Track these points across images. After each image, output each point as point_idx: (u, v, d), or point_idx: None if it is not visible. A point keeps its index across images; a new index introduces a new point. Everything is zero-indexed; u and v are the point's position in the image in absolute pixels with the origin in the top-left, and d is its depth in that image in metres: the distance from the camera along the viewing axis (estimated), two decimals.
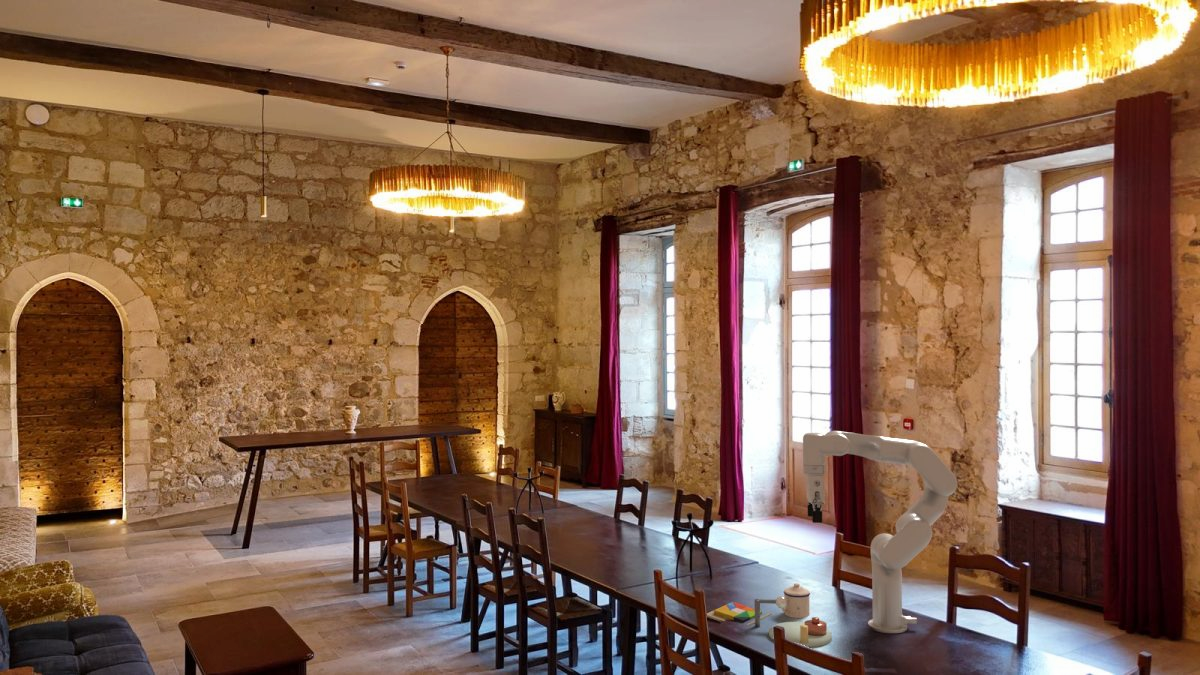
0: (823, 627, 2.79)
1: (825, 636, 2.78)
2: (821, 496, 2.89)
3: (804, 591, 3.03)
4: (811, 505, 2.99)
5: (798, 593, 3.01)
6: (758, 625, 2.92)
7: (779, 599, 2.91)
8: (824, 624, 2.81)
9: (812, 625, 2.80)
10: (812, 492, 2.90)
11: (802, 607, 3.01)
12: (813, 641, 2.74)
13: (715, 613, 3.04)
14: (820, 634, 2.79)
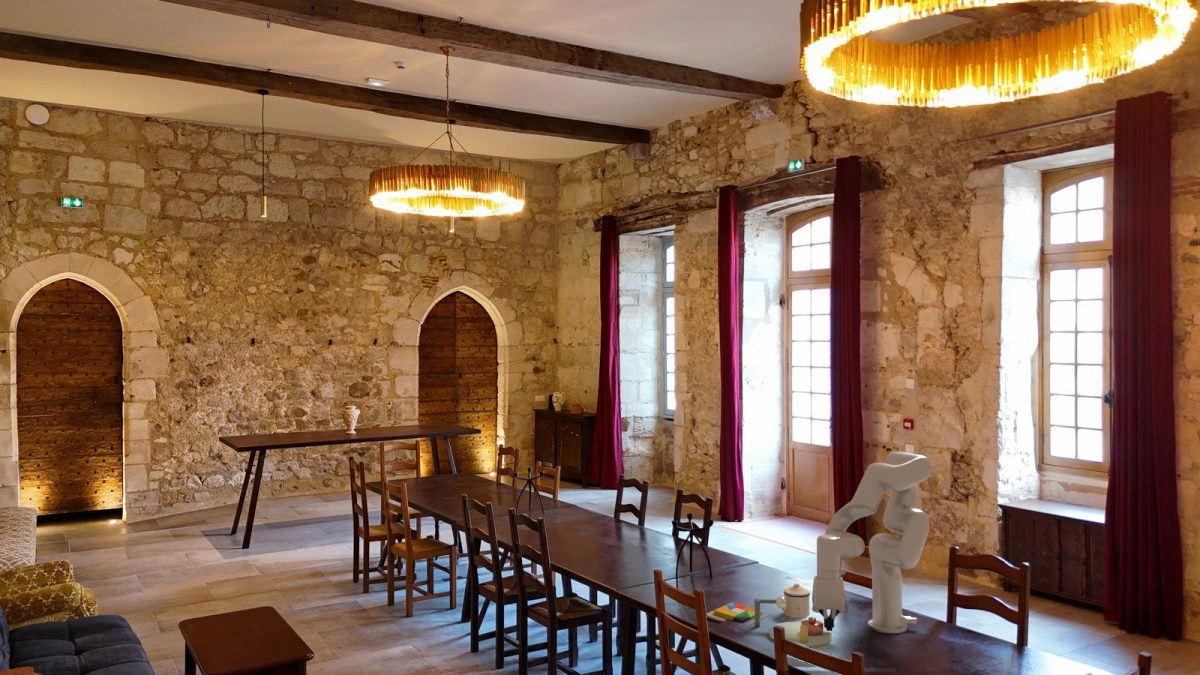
0: (820, 627, 2.79)
1: (825, 636, 2.78)
2: None
3: (804, 591, 3.03)
4: (829, 615, 2.81)
5: (798, 593, 3.01)
6: (758, 625, 2.92)
7: (779, 599, 2.91)
8: (821, 624, 2.81)
9: (809, 625, 2.80)
10: None
11: (802, 607, 3.01)
12: (813, 641, 2.74)
13: (715, 613, 3.04)
14: (817, 634, 2.79)
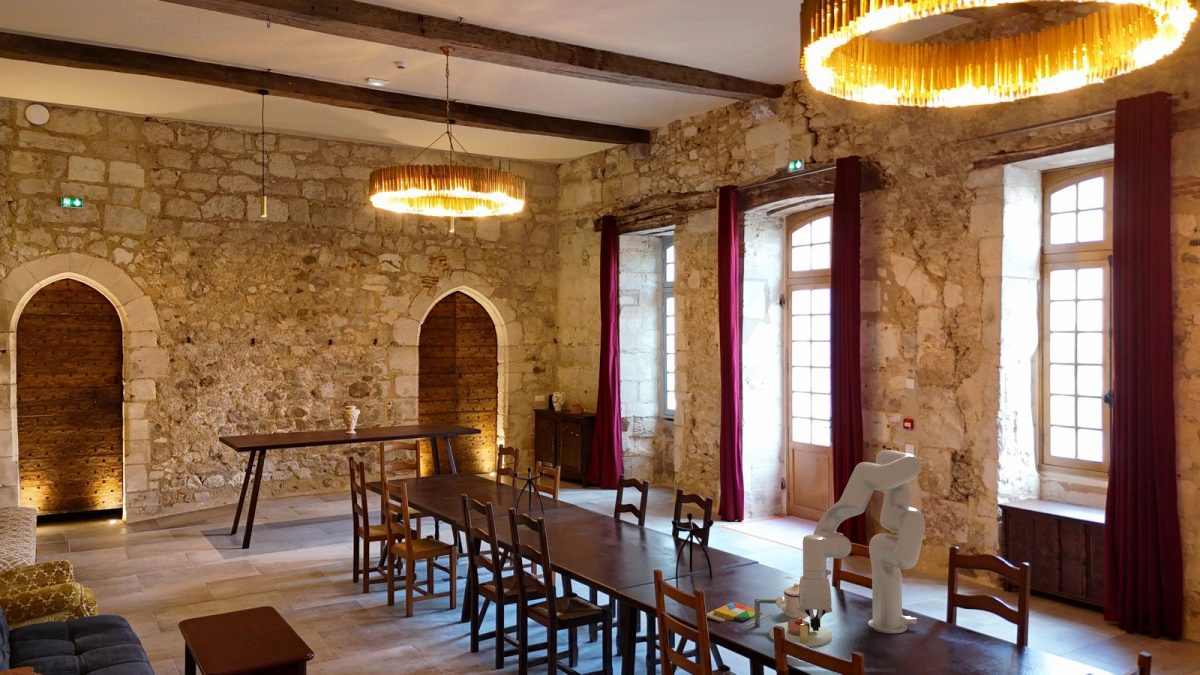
0: None
1: (825, 636, 2.78)
2: None
3: None
4: None
5: (798, 593, 3.01)
6: (758, 625, 2.92)
7: (779, 599, 2.91)
8: (807, 624, 2.81)
9: (796, 625, 2.80)
10: None
11: None
12: (813, 641, 2.74)
13: (715, 613, 3.04)
14: None
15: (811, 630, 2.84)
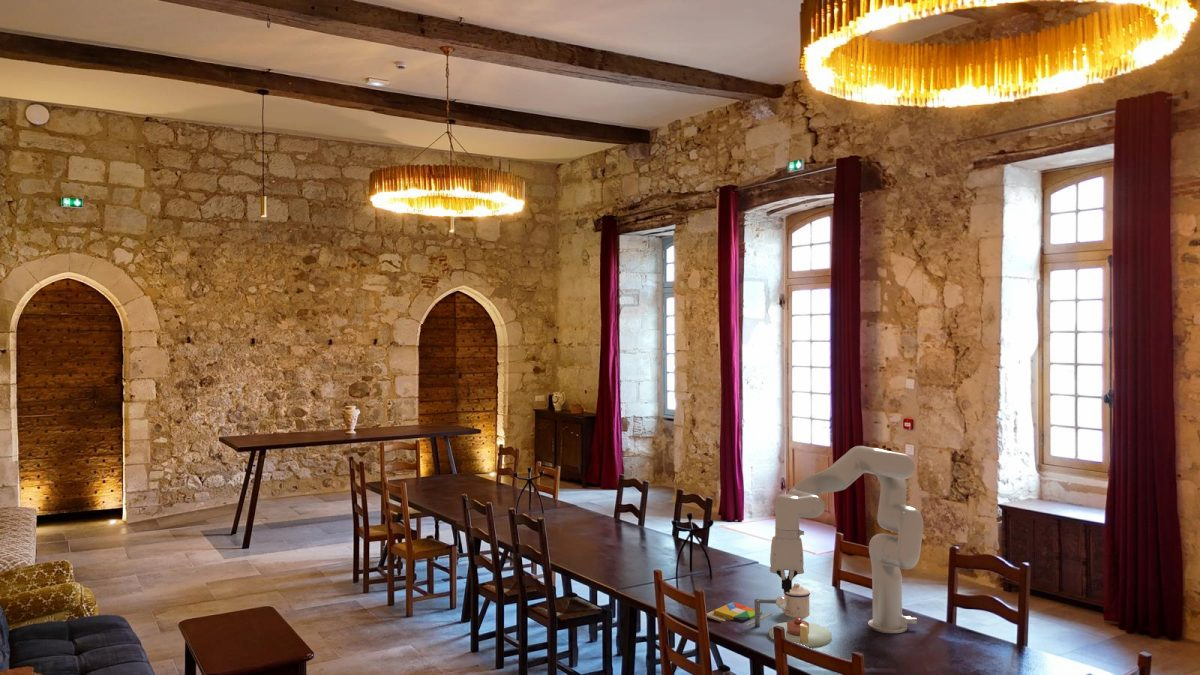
0: None
1: (825, 636, 2.78)
2: None
3: (804, 591, 3.03)
4: None
5: (798, 593, 3.01)
6: (758, 625, 2.92)
7: (779, 599, 2.91)
8: (806, 624, 2.81)
9: (795, 625, 2.80)
10: None
11: (802, 607, 3.01)
12: (813, 641, 2.74)
13: (715, 613, 3.04)
14: None
15: (811, 630, 2.84)
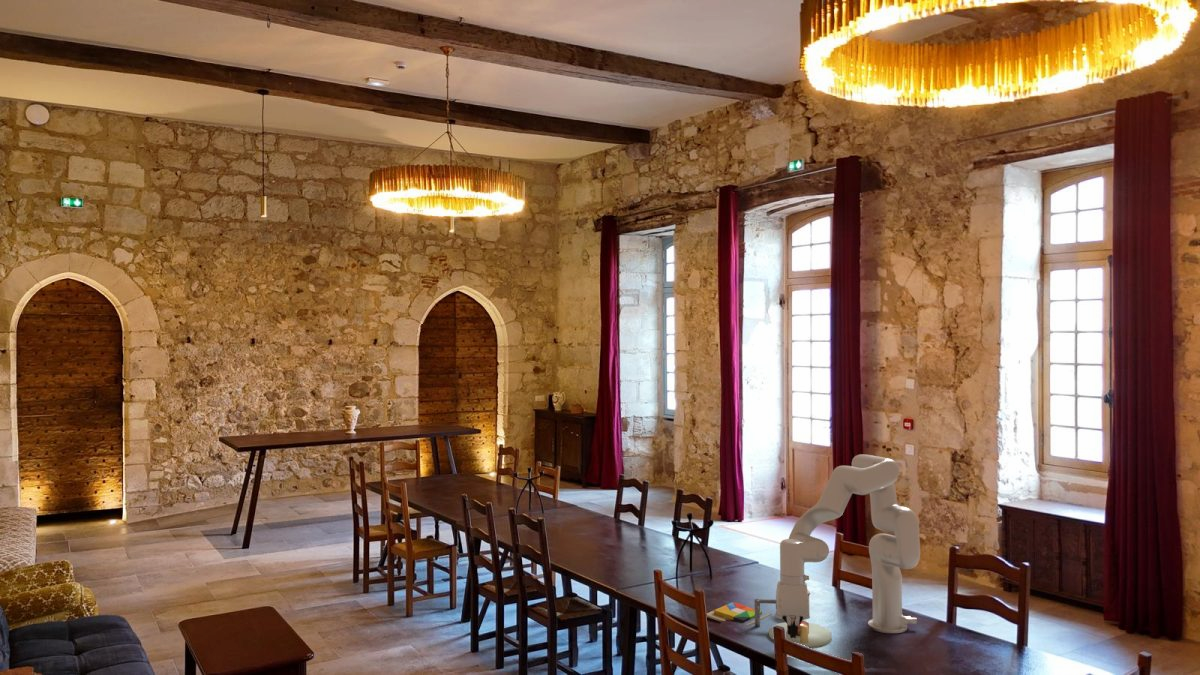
0: None
1: (825, 636, 2.78)
2: None
3: None
4: None
5: None
6: (758, 625, 2.92)
7: None
8: (806, 624, 2.81)
9: None
10: (808, 602, 2.72)
11: None
12: (813, 641, 2.74)
13: (715, 613, 3.04)
14: None
15: (811, 630, 2.84)
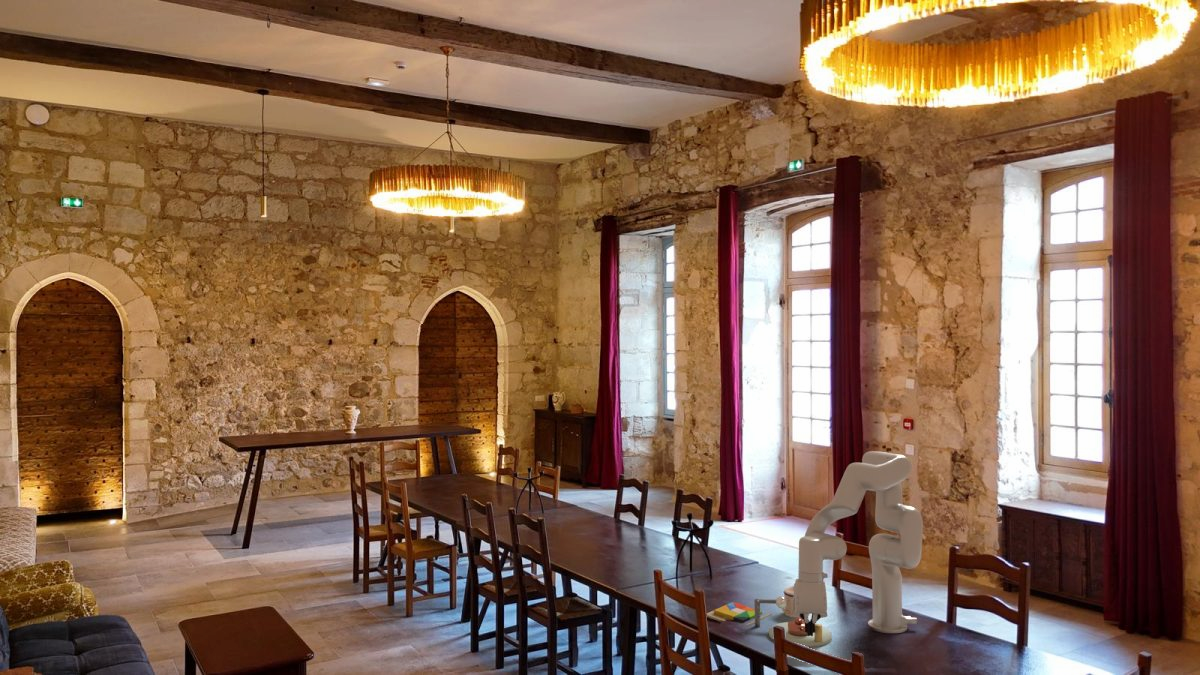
0: None
1: (826, 632, 2.82)
2: None
3: None
4: None
5: None
6: (758, 625, 2.92)
7: (779, 599, 2.91)
8: None
9: (800, 626, 2.79)
10: (826, 600, 2.71)
11: None
12: (824, 638, 2.76)
13: (715, 613, 3.04)
14: None
15: None
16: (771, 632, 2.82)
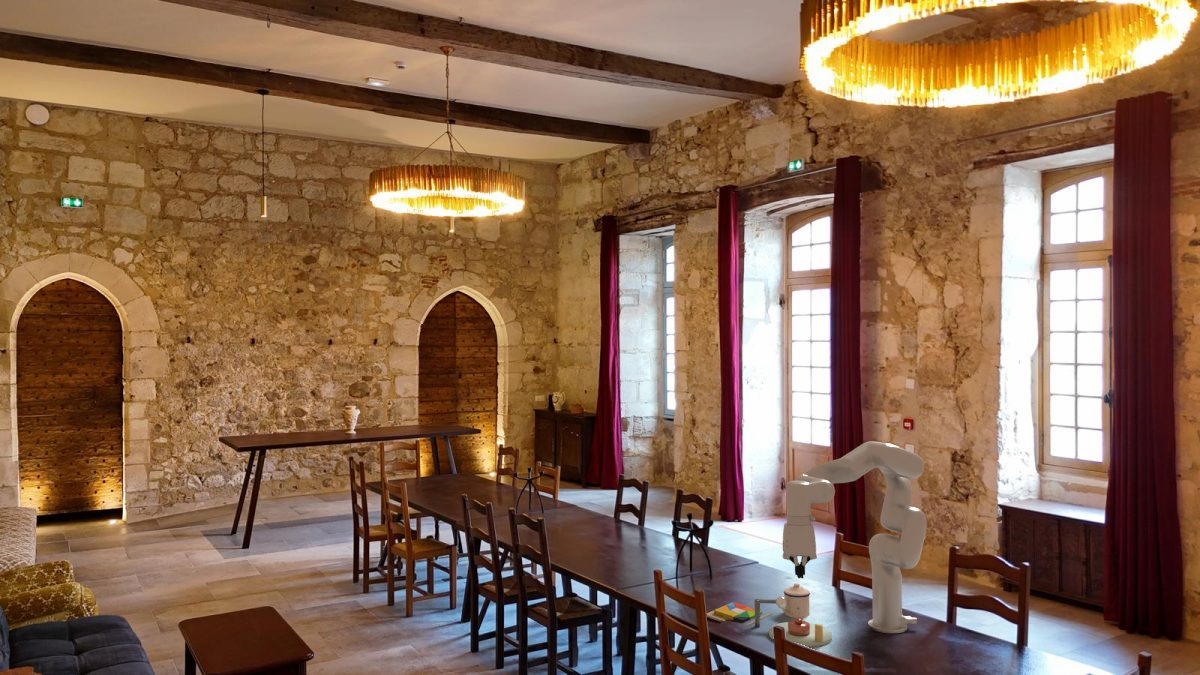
0: (809, 625, 2.81)
1: (825, 631, 2.83)
2: None
3: (804, 591, 3.03)
4: (800, 562, 2.75)
5: (798, 593, 3.01)
6: (758, 625, 2.92)
7: (779, 599, 2.91)
8: (806, 622, 2.83)
9: (800, 626, 2.79)
10: (815, 542, 2.73)
11: (802, 607, 3.01)
12: (824, 638, 2.76)
13: (715, 613, 3.04)
14: (808, 633, 2.80)
15: None
16: (771, 632, 2.82)
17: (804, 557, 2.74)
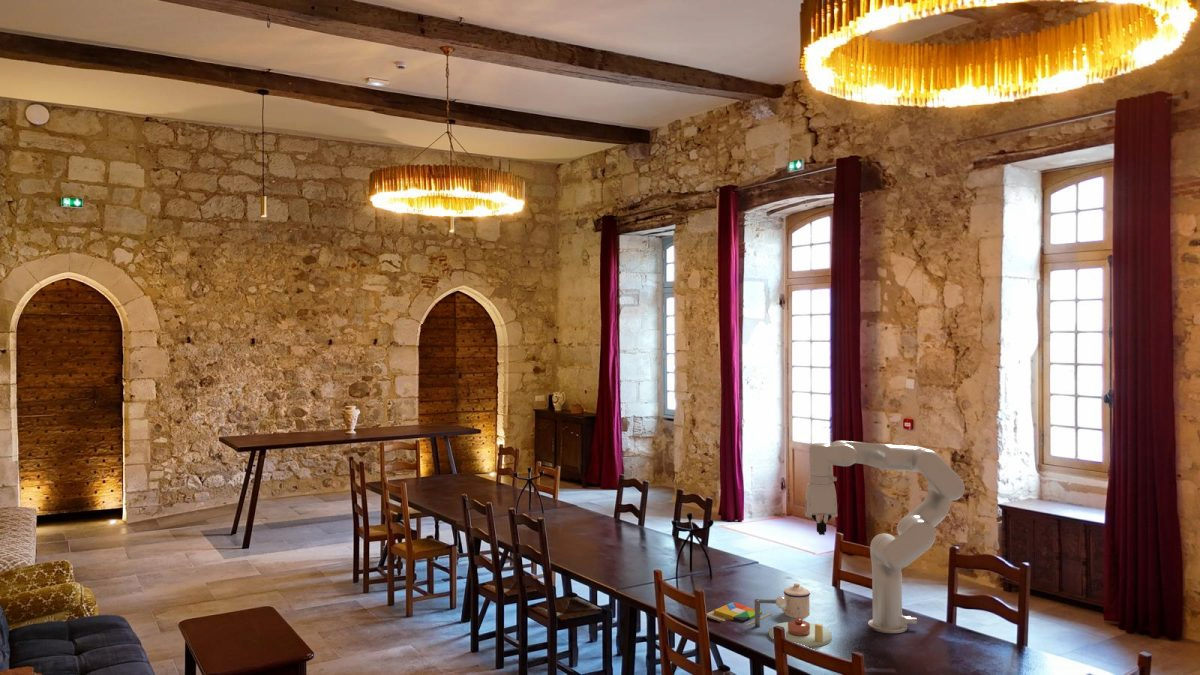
0: (809, 625, 2.81)
1: (825, 631, 2.83)
2: None
3: (804, 591, 3.03)
4: None
5: (798, 593, 3.01)
6: (758, 625, 2.92)
7: (779, 599, 2.91)
8: (806, 622, 2.83)
9: (800, 626, 2.79)
10: (836, 501, 2.90)
11: (802, 607, 3.01)
12: (824, 638, 2.76)
13: (715, 613, 3.04)
14: (808, 633, 2.80)
15: None
16: (771, 632, 2.82)
17: (825, 515, 2.91)
